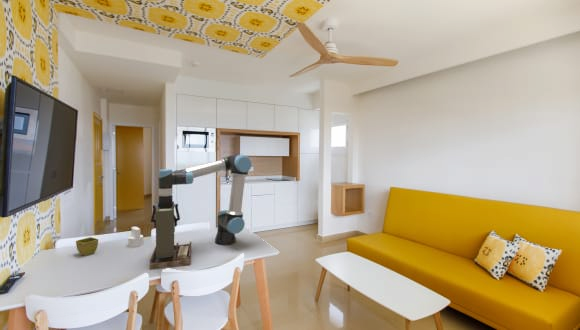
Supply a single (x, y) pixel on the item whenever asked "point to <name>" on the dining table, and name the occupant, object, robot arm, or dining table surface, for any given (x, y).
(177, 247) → the rack
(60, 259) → the dining table surface
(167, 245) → the book
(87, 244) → the flower pot
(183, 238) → the dining table surface
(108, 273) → the dining table surface
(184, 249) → the offcut top
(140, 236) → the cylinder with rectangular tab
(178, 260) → the block
